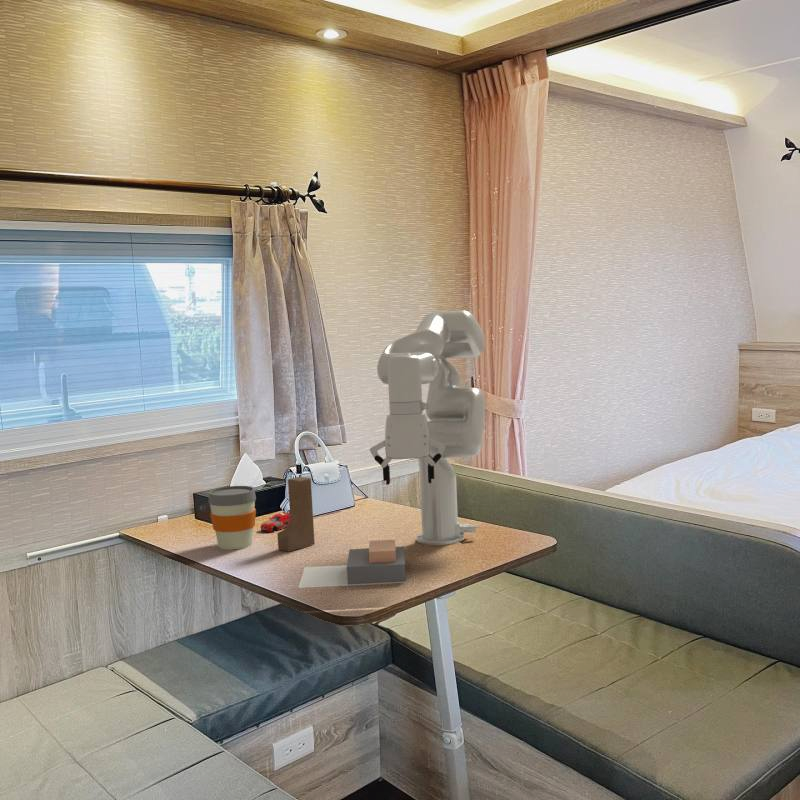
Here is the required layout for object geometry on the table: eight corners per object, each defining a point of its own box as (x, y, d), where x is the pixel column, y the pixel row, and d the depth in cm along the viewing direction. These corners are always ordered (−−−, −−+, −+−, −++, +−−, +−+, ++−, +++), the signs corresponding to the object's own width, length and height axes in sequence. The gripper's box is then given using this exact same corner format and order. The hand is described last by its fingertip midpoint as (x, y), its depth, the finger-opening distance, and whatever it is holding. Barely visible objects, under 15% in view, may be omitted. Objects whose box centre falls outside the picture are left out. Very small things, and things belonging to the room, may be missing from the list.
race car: (269, 535, 231) (268, 521, 231) (256, 532, 235) (255, 518, 234) (303, 524, 241) (302, 510, 241) (291, 522, 245) (290, 508, 244)
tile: (395, 549, 194) (395, 539, 194) (396, 561, 185) (395, 550, 185) (370, 551, 194) (369, 540, 193) (369, 562, 185) (368, 551, 184)
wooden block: (288, 552, 211) (284, 483, 210) (277, 549, 215) (273, 482, 213) (315, 544, 218) (311, 477, 216) (304, 541, 221) (300, 476, 219)
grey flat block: (404, 562, 197) (403, 546, 196) (406, 581, 183) (405, 564, 182) (350, 565, 197) (349, 549, 196) (347, 584, 183) (346, 567, 182)
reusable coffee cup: (261, 548, 217) (258, 492, 215) (213, 554, 213) (209, 497, 212) (256, 536, 229) (252, 483, 227) (210, 542, 225) (206, 488, 224)
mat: (404, 563, 197) (404, 562, 197) (406, 584, 182) (406, 582, 182) (304, 568, 197) (304, 567, 197) (298, 589, 182) (298, 587, 182)
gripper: (443, 405, 190) (446, 478, 192) (369, 408, 191) (372, 481, 193) (443, 409, 183) (446, 484, 185) (366, 412, 184) (370, 487, 185)
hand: (409, 482), depth 189 cm, fingers open, 9 cm apart
